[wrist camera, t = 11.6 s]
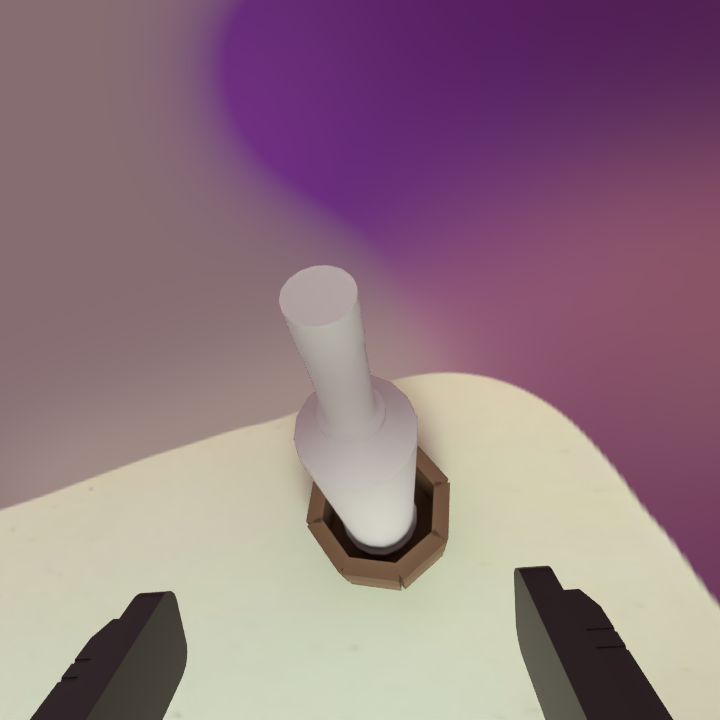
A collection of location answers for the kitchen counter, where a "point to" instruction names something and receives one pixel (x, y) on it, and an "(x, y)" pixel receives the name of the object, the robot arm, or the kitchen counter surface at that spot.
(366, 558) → the wooden cup
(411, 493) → the bottle
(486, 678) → the kitchen counter surface
